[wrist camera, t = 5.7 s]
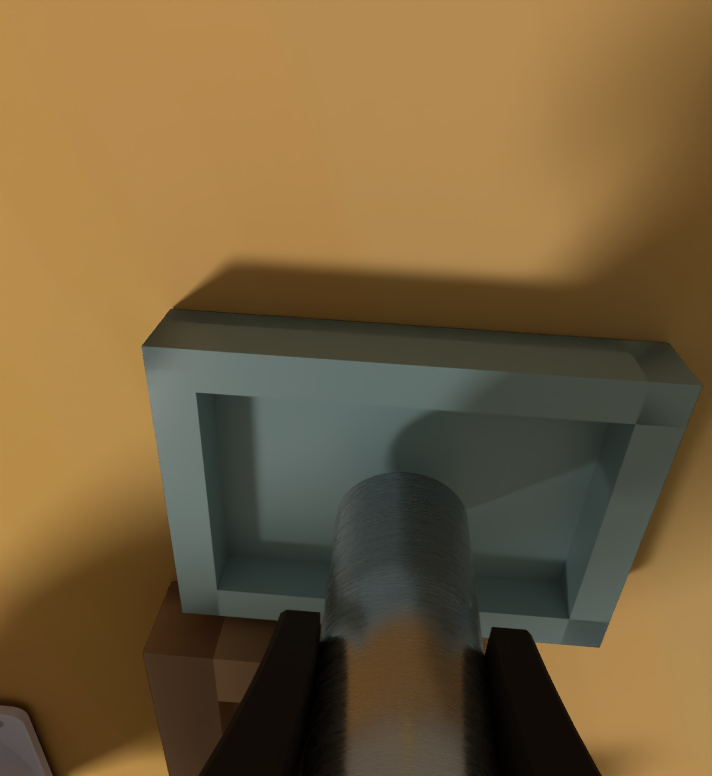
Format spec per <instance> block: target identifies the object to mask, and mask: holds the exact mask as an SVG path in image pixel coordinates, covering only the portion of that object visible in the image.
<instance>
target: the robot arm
mask: <svg viewBox="0 0 712 776" xmlns="http://www.w3.org/2000/svg"><path fill="white" fill-rule="evenodd" d="M319 645H320V612H311V611H299V610H287V609H286V610H285V611H283V612H281V613H280V616H279V619H278V621H277V624H276V627H275V630H274V632H273V635H272V637H271V640H270V642H269V645H268V647H267V649H266V652H265V654H264V656H263V658H262V660H261V663H260V665H259V667H258V669H257V671H256V673H255V675H254V677H253V679H252V681H251V683H250V685H249V687H248V689H247V691H246V693H245V695H244V697H243V698H242V700H241V702H240V704H239V706H238V708H237V710H236V712H235V713H234V715H233V717H232V719H231V721H230V723H229V725H228V727H227V728H226V730H225V732H224V734H223V735H222V737H221V739H220V740H219V742H218V744H217V745H216V747H215V749H214V750H213V752H212V754H211V755H210V757H209V759H208V760H207V762H206V764H205V765H204V767H203V769H202V770H201V772H200V774H199V775H198V776H302V768H303V761H304V753H305V746H306V738H307V731H308V723H309V716H310V710H311V703H312V697H313V690H314V683H315V675H316V668H317V660H318V653H319ZM485 664H486V673H487V681H488V689H489V697H490V705H491V713H492V722H493V730H494V738H495V746H496V754H497V763H498V771H499V776H601V774H600V772H599V770H598V768H597V767H596V765H595V763H594V761H593V759H592V757H591V756H590V754H589V752H588V750H587V748H586V746H585V745H584V743H583V741H582V739H581V737H580V735H579V734H578V732H577V730H576V728H575V726H574V724H573V722H572V720H571V718H570V716H569V714H568V712H567V711H566V708H565V706H564V704H563V702H562V700H561V698H560V696H559V694H558V692H557V690H556V688H555V686H554V684H553V682H552V680H551V678H550V676H549V674H548V671H547V669H546V667H545V665H544V663H543V660H542V658H541V656H540V654H539V651H538V649H537V647H536V644H535V642H534V640H533V637H532V635H531V634H530V633H529V632H528V631H527V630H524V629H513V628H501V627H491V632H490V636H489V640H488V644H487V648H486V652H485ZM0 776H53V775H52V773H51V770H50V768H49V765H48V763H47V760H46V758H45V755H44V753H43V750H42V748H41V745H40V743H39V740H38V738H37V735H36V733H35V730H34V728H33V725H32V723H31V720H30V718H29V716H28V714H27V712H25V711H24V710H23V709H20V708H18V707H13V706H2V705H0Z"/></svg>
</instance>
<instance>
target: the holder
mask: <svg viewBox="0 0 712 776" xmlns="http://www.w3.org/2000/svg"><path fill="white" fill-rule="evenodd" d="M276 624H277V620H265V619H253V618H242V617H230V616H218V615H206V614H194V613H183V612H182V606H181V599H180V593H179V586H178V583H175V582H171V584H170V586H169V589H168V591H167V594H166V596H165V599H164V601H163V604H162V606H161V609H160V611H159V614H158V616H157V618H156V621H155V623H154V626H153V628H152V631H151V633H150V636H149V638H148V641H147V643H146V646H145V648H144V651H143V657H144V662H145V666H146V671H147V676H148V680H149V685H150V690H151V694H152V699H153V703H154V708H155V713H156V717H157V722H158V727H159V731H160V736H161V741H162V745H163V750H164V754H165V759H166V764H167V768H168V773H169V776H198V775H199V774H200V772H201V770H202V769H203V767H204V765H205V764H206V762H207V760H208V759H209V757H210V755H211V754H212V752H213V750H214V749H215V747H216V745H217V744H218V742H219V740H220V739H221V737H222V735H223V734H224V732H225V730H226V728H227V727H228V725H229V723H230V721H231V719H232V717H233V715H234V713H235V712H236V710H237V708H238V706H239V704H240V702H241V700H242V698H243V697H244V695H245V693H246V691H247V689H248V687H249V685H250V683H251V681H252V679H253V677H254V675H255V673H256V671H257V669H258V667H259V665H260V663H261V660H262V658H263V656H264V654H265V652H266V649H267V647H268V645H269V642H270V640H271V637H272V635H273V632H274V630H275V627H276ZM321 626H322V624H320V633H321Z"/></svg>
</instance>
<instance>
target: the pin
mask: <svg viewBox="0 0 712 776" xmlns="http://www.w3.org/2000/svg"><path fill="white" fill-rule="evenodd" d="M302 776H499V771H498V763H497V754H496V746H495V738H494V730H493V722H492V713H491V705H490V697H489V689H488V681H487V673H486V664H485V656H484V648H483V640H482V632H481V623H480V615H479V607H478V599H477V591H476V582H475V574H474V566H473V558H472V550H471V542H470V533H469V525H468V517H467V512H466V509H465V507H464V504H463V503H462V501H461V499H460V498H459V497H458V496H457V494H456V493H455V492H454V491H453V490H451V489H450V488H449V487H448V486H446V485H445V484H443V483H442V482H440V481H438V480H436V479H433V478H431V477H428V476H425V475H421V474H417V473H410V472H390V473H384V474H380V475H376V476H373V477H370V478H368V479H365V480H363V481H361V482H360V483H358V484H357V485H355V486H354V487H352V488H351V489H350V490H349V491H348V492H347V493H346V494H345V496H344V497H343V498H342V500H341V502H340V504H339V506H338V509H337V514H336V521H335V528H334V536H333V543H332V551H331V558H330V566H329V573H328V581H327V588H326V596H325V603H324V611H323V618H322V626H321V633H320V645H319V653H318V660H317V668H316V675H315V683H314V690H313V697H312V703H311V710H310V716H309V723H308V731H307V738H306V746H305V753H304V761H303V768H302Z"/></svg>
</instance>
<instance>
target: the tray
mask: <svg viewBox="0 0 712 776" xmlns="http://www.w3.org/2000/svg"><path fill="white" fill-rule="evenodd" d="M142 352H143V359H144V365H145V372H146V378H147V385H148V391H149V398H150V404H151V411H152V417H153V424H154V430H155V437H156V443H157V450H158V456H159V463H160V469H161V476H162V482H163V489H164V495H165V502H166V508H167V515H168V521H169V528H170V534H171V541H172V547H173V554H174V560H175V567H176V573H177V580H178V586H179V593H180V599H181V606H182V612H183V613H194V614H206V615H218V616H230V617H242V618H253V619H265V620H277V621H278V619H279V616H280V613H281V612H283V611H285V610H286V609H287V610H299V611H311V612H320V624H322V618H323V611H324V603H325V596H326V588H327V581H328V573H329V566H330V558H331V551H332V543H333V536H334V528H335V521H336V514H337V509H338V506H339V504H340V502H341V500H342V498H343V497H344V496H345V494H346V493H347V492H348V491H349V490H350V489H351V488H352V487H354V486H355V485H357V484H358V483H360V482H361V481H363V480H365V479H368V478H370V477H373V476H376V475H380V474H384V473H390V472H410V473H417V474H421V475H425V476H428V477H431V478H433V479H436V480H438V481H440V482H442V483H443V484H445V485H446V486H448V487H449V488H450V489H451V490H453V491H454V492H455V493H456V494H457V496H458V497H459V498H460V499H461V501H462V503H463V504H464V507H465V509H466V512H467V517H468V525H469V533H470V542H471V550H472V558H473V566H474V574H475V582H476V591H477V599H478V607H479V615H480V623H481V632H482V638H489V636H490V632H491V627H501V628H513V629H524V630H527V631H528V632H529V633H530V634H531V635H532V637H533V640H534V642H538V643H550V644H562V645H574V646H586V647H598V648H600V645H601V642H602V640H603V637H604V635H605V632H606V630H607V627H608V625H609V622H610V620H611V617H612V615H613V612H614V609H615V607H616V604H617V602H618V599H619V597H620V594H621V592H622V589H623V587H624V584H625V581H626V579H627V576H628V574H629V571H630V569H631V566H632V564H633V561H634V559H635V556H636V554H637V551H638V548H639V546H640V543H641V541H642V538H643V536H644V533H645V531H646V528H647V526H648V523H649V520H650V518H651V515H652V513H653V510H654V508H655V505H656V503H657V500H658V498H659V495H660V493H661V490H662V487H663V485H664V482H665V480H666V477H667V475H668V472H669V470H670V467H671V465H672V462H673V459H674V457H675V454H676V452H677V449H678V447H679V444H680V442H681V439H682V437H683V434H684V432H685V429H686V426H687V424H688V421H689V419H690V416H691V414H692V411H693V409H694V406H695V404H696V401H697V399H698V396H699V393H700V391H701V388H702V384H701V383H700V382H699V381H698V379H697V378H696V377H695V376H694V374H693V373H692V372H691V371H690V369H689V368H688V367H687V366H686V364H685V363H684V362H683V361H682V359H681V358H680V357H679V355H678V354H677V353H676V352H675V350H674V349H673V348H672V347H671V345H670V344H669V343H660V342H646V341H631V340H616V339H602V338H587V337H572V336H558V335H543V334H528V333H514V332H499V331H484V330H470V329H455V328H440V327H426V326H411V325H397V324H382V323H367V322H353V321H338V320H323V319H309V318H294V317H279V316H265V315H250V314H235V313H221V312H206V311H191V310H177V309H170V310H169V312H168V313H167V314H166V315H165V317H164V318H163V319H162V321H161V322H160V323H159V324H158V326H157V327H156V328H155V330H154V331H153V332H152V333H151V335H150V336H149V337H148V339H147V340H146V341H145V342H144V344H143V345H142Z"/></svg>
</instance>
